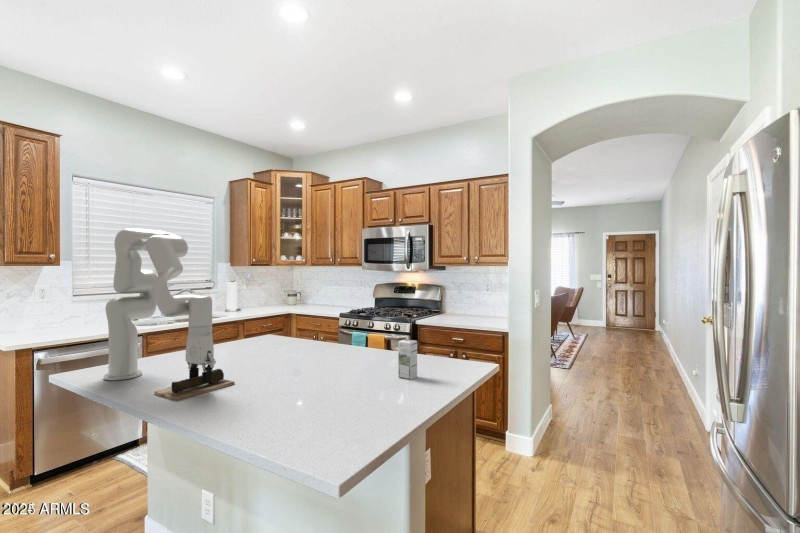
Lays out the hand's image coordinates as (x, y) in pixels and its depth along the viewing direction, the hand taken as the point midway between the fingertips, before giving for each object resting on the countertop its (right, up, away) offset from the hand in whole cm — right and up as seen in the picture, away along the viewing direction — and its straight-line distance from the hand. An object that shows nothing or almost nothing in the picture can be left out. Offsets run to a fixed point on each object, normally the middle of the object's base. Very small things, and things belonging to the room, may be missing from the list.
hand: (200, 380), depth 144 cm
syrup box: (+74, -4, +18) cm, 76 cm away
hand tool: (-1, -2, 0) cm, 2 cm away
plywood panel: (-2, -3, +1) cm, 4 cm away
